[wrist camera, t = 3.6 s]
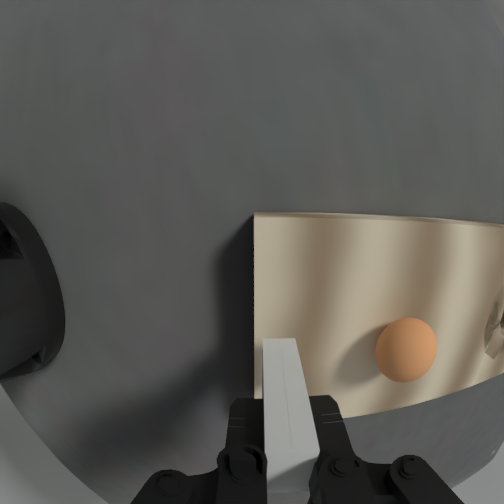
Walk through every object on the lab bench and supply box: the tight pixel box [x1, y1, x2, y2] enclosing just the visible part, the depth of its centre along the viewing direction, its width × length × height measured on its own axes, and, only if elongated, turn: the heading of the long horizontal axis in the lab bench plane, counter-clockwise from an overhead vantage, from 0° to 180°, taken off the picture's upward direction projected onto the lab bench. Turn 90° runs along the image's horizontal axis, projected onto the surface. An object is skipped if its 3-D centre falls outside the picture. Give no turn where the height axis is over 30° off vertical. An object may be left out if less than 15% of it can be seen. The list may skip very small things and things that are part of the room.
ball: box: [375, 318, 437, 383], centre depth 12 cm, size 4×4×4 cm
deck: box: [254, 212, 504, 418], centre depth 15 cm, size 28×13×3 cm, turn 90°
